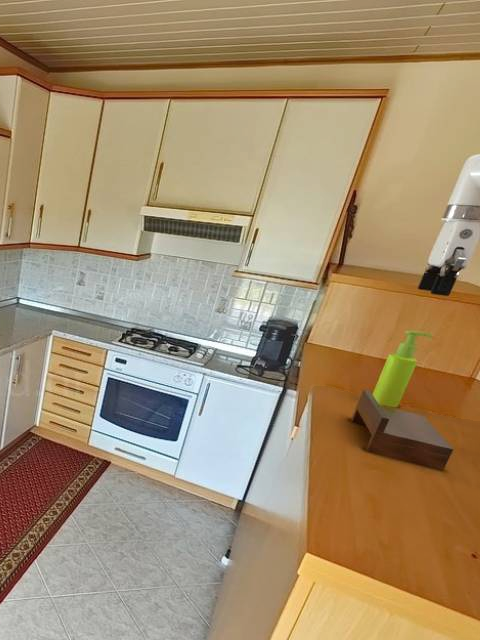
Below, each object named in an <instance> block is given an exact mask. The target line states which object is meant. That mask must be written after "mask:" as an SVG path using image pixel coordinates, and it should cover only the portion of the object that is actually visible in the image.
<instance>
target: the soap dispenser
mask: <svg viewBox="0 0 480 640" xmlns="http://www.w3.org/2000/svg"><path fill="white" fill-rule="evenodd" d="M404 333H405V334H407V336H406V340H405V341H403V342H402V341H401V342H400V343H399V345H398V348H397V350H396V352H395V353H389V354H388V356H387V359H386V361H385V363H384V365H383V367H382V371H381V373H380V375H379V376H378V377H379V378H378V380H377V382H376V384H375V387H374V389H373V392H372V393H371V394H372V395H373V397H374V398H375V400H376V401H377V402H378V404H379V405H380V406H382V407H386V408H398V407H399V405H400V402H401V400H402V398H403V396H404V393H405V391H406V390H407V389H406V388H407V387H408V385H409V382H410V380H411V377H412V376H413V373H414V372H415V371H414V370H415V368H416V367H417V364H418V361H419V360H418V359H416V358H414V354H415V353H416V350H417V348H418V345H416V344H415V342H416V340H417V337H418V336H423V337H427V338H430V339H434V338H435V336H434V335H431V334H429V333H426V332H424V331H417V330H405V332H404Z"/></svg>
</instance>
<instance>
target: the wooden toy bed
mask: <svg viewBox="0 0 480 640" xmlns="http://www.w3.org/2000/svg"><path fill="white" fill-rule="evenodd" d="M372 394H373V393H372V392H371V391H370V390H366V389H363V390H362V392H361V394H360V397H359V399H358V402H357V404H356V406H355V408H354V411H353V414H352V416H351V419H350V421H351V423H354V424H359V425H362V426H366V428H367V429H368V431H369V433H370V435H371V436H370V438H369V440H368V442H367V444H366V447H365V451H366V453H369V454H374V455H378V456H382V457H386V458H390V459H394V460H398V461H402V462H404V463H405V462H406V463H410V464H413V465H418V466H422V467H426V468H430V469H433V470H437V471H441V472H443V471H444V470H445V468H446V466H447V464H448V463H449V460H450V457H451V456H452V454H453V452H454V450H455V449H454V448H453V446H451V445H450V443H448V441H447V440H446V439H445V438H444V437H443V436H442V435H441V434H440V433H439V432H438V430H437V429H436V428H435V427H434V425H432V424H431V423H430V422H429V420H428V419H427V418H426V417H425V416H424V415H421V414H416V413H413V412H407V411H403V410H399V409H396V408H391V407H386V406H382V405H380V404H378V402H377V401H376V400H375V398H374V397H373V395H372Z"/></svg>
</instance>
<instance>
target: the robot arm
mask: <svg viewBox="0 0 480 640" xmlns="http://www.w3.org/2000/svg"><path fill="white" fill-rule="evenodd" d="M440 221H441V222H444V224H443V226H442V228H441V229H440V232H439V234H438V236H437V238H436V240H435V242H434V245H433V247H432V250H431V252H430V255H429V257H428V260H427V262H428V263H427V267H426V268H425V270H424V272H423V274H422V277H421V279H420V281H419V284H418V286H417V289H418V290H419V291H420V290H422V291H427V292H428V291H429V292H430V294H431V295H434V296H435V295H436V296H444V297H448V296H450V294H451V292H452V291H453V288H454V285H455V284H456V282H457V279H458V278H459V275H460V271H461V270H465V269H467V268H468V267H469V265H470V262H471V260H472V258H473V255H474V252H475V250H476V248H477V245H478V242H479V239H480V153H477V154H474V155H471V156H469V157H468V158H467V160H466V161H465V162H464V165H463V166H462V169H461V172H460V174H459V176H458V179H457V181H456V183H455V185H454V188H453V190H452V192H451V195H450V197H449V199H448V201H447V205H446V207H445V209H444V212H443V214H442V217H441V219H440Z"/></svg>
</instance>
